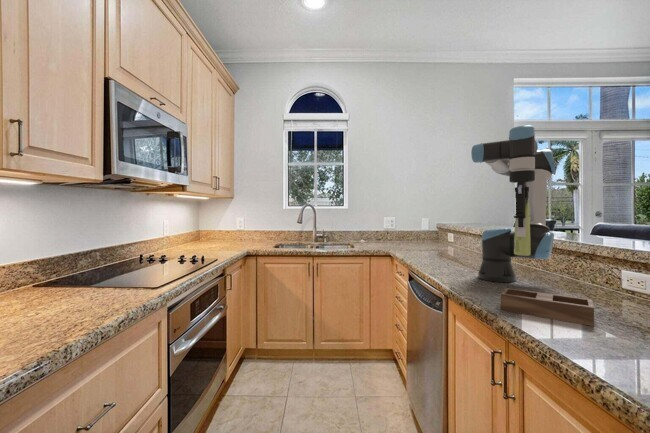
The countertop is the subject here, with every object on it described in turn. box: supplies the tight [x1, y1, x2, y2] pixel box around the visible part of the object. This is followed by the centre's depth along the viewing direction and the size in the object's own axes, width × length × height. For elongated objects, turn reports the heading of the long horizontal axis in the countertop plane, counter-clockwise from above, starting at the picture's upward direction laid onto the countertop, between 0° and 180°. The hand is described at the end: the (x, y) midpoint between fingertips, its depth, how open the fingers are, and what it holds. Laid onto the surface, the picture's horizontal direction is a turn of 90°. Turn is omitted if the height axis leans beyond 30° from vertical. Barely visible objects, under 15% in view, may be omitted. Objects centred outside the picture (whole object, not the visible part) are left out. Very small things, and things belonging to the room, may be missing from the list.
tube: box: [514, 201, 530, 256], centre depth 105 cm, size 6×5×20 cm
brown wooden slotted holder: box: [500, 287, 595, 327], centre depth 91 cm, size 10×22×5 cm, turn 50°
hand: (522, 235), depth 105 cm, fingers closed on tube, 6 cm apart
